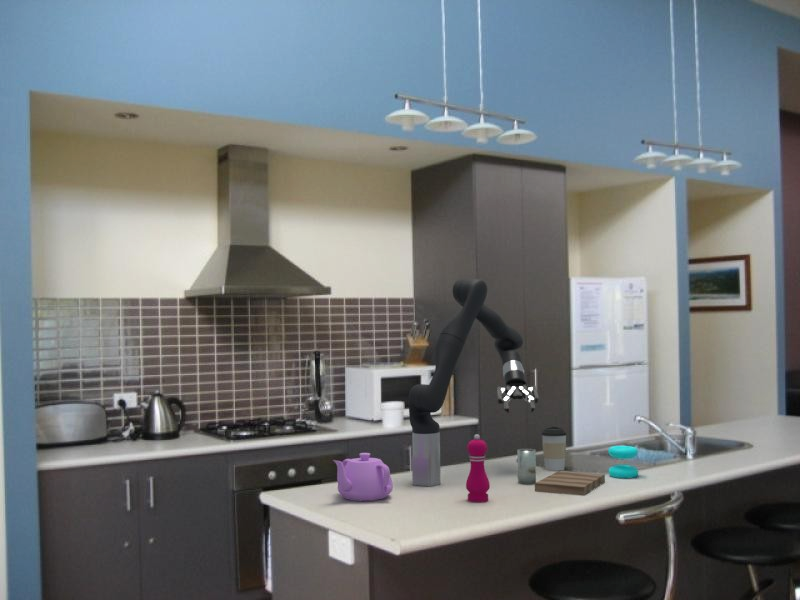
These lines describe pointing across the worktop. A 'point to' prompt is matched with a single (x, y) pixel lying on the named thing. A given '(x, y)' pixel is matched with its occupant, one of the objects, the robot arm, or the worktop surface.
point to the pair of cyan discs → (623, 453)
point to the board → (570, 483)
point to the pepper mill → (477, 471)
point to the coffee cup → (554, 448)
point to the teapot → (363, 478)
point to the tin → (526, 466)
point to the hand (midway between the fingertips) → (520, 411)
